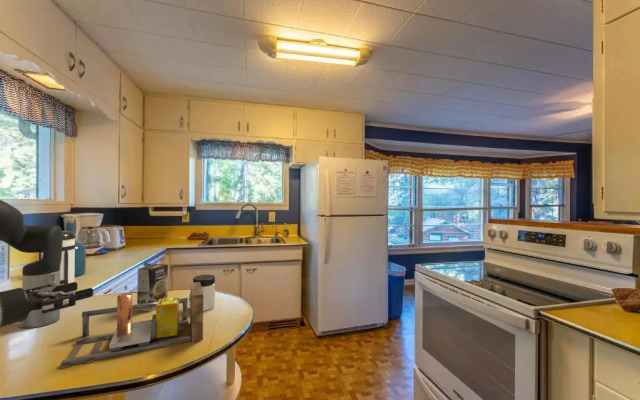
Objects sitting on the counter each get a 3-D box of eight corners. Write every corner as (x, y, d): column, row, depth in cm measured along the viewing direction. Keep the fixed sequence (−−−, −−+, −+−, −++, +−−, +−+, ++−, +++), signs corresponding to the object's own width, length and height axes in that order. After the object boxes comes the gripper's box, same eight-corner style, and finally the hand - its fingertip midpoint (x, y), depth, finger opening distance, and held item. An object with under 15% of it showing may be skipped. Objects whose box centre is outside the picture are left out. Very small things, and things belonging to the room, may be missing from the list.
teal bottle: (89, 274, 155) (90, 220, 155) (58, 280, 144) (58, 221, 143) (80, 270, 162) (80, 218, 162) (49, 276, 151) (49, 220, 151)
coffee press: (22, 296, 121) (22, 226, 121) (66, 285, 136) (67, 223, 136) (44, 302, 115) (45, 228, 114) (89, 290, 130) (89, 225, 129)
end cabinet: (189, 342, 85) (190, 296, 85) (187, 323, 98) (188, 283, 98) (202, 339, 87) (203, 294, 87) (199, 321, 99) (199, 281, 99)
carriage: (109, 352, 77) (109, 304, 77) (118, 331, 88) (118, 289, 88) (154, 343, 82) (155, 298, 81) (157, 324, 93) (157, 285, 93)
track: (59, 369, 71) (59, 364, 71) (78, 341, 85) (78, 337, 85) (190, 342, 85) (190, 338, 85) (188, 322, 98) (188, 319, 98)
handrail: (81, 337, 87) (81, 312, 87) (83, 335, 89) (83, 311, 88) (187, 319, 101) (187, 298, 101) (187, 318, 102) (187, 297, 102)
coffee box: (150, 312, 107) (151, 269, 107) (136, 310, 108) (136, 268, 108) (168, 303, 116) (168, 264, 116) (154, 301, 117) (155, 263, 117)
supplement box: (158, 332, 91) (158, 298, 91) (179, 329, 93) (179, 296, 93) (155, 341, 86) (155, 305, 86) (177, 337, 88) (177, 302, 88)
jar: (214, 310, 109) (215, 279, 109) (191, 313, 107) (192, 281, 106) (214, 302, 118) (215, 273, 118) (193, 304, 115) (193, 275, 115)
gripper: (5, 300, 57) (98, 279, 71) (-18, 287, 64) (71, 270, 78) (5, 337, 57) (98, 308, 72) (-18, 320, 64) (71, 297, 78)
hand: (84, 288), depth 75 cm, fingers open, 8 cm apart
